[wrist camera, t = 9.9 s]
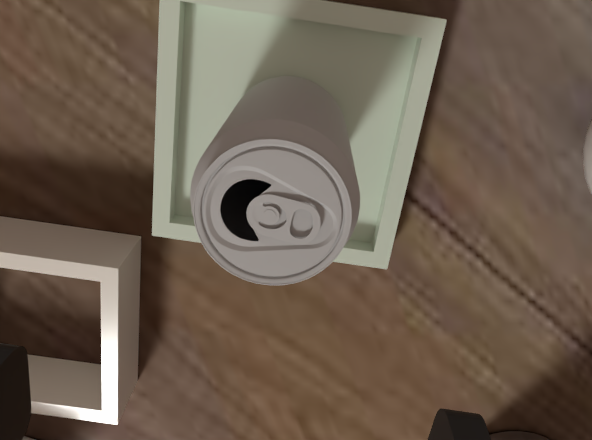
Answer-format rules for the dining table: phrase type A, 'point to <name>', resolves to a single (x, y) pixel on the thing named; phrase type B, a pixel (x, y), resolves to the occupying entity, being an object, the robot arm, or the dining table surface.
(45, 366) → the holder
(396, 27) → the tray
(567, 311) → the dining table surface
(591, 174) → the lidded jar
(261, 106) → the beverage can
